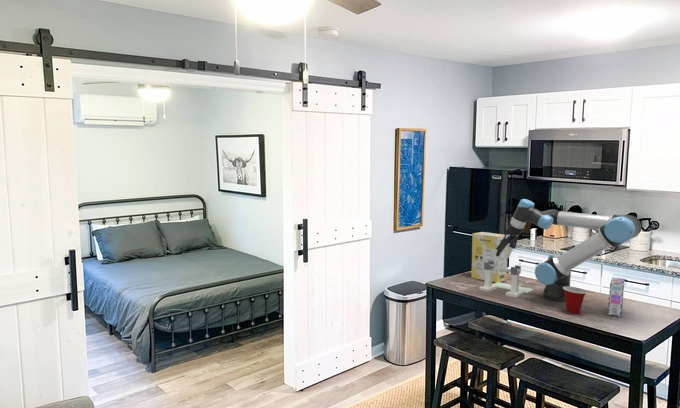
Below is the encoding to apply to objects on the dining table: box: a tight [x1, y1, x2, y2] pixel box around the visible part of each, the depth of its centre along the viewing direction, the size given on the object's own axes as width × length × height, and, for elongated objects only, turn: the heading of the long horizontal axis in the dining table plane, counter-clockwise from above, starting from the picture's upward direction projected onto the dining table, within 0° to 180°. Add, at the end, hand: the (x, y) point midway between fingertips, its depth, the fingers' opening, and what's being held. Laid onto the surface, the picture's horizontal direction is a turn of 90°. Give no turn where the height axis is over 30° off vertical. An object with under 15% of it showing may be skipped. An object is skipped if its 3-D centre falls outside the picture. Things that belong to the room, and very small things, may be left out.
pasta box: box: [471, 231, 509, 283], centre depth 310 cm, size 18×10×28 cm, turn 41°
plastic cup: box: [563, 286, 588, 315], centre depth 249 cm, size 11×11×12 cm
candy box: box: [607, 276, 625, 318], centre depth 249 cm, size 14×6×16 cm, turn 148°
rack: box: [478, 261, 525, 298], centre depth 283 cm, size 22×10×16 cm, turn 47°
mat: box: [492, 282, 535, 295], centre depth 292 cm, size 22×10×1 cm, turn 47°
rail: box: [490, 264, 521, 275], centre depth 282 cm, size 20×3×3 cm, turn 47°
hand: (500, 259), depth 281 cm, fingers open, 13 cm apart
